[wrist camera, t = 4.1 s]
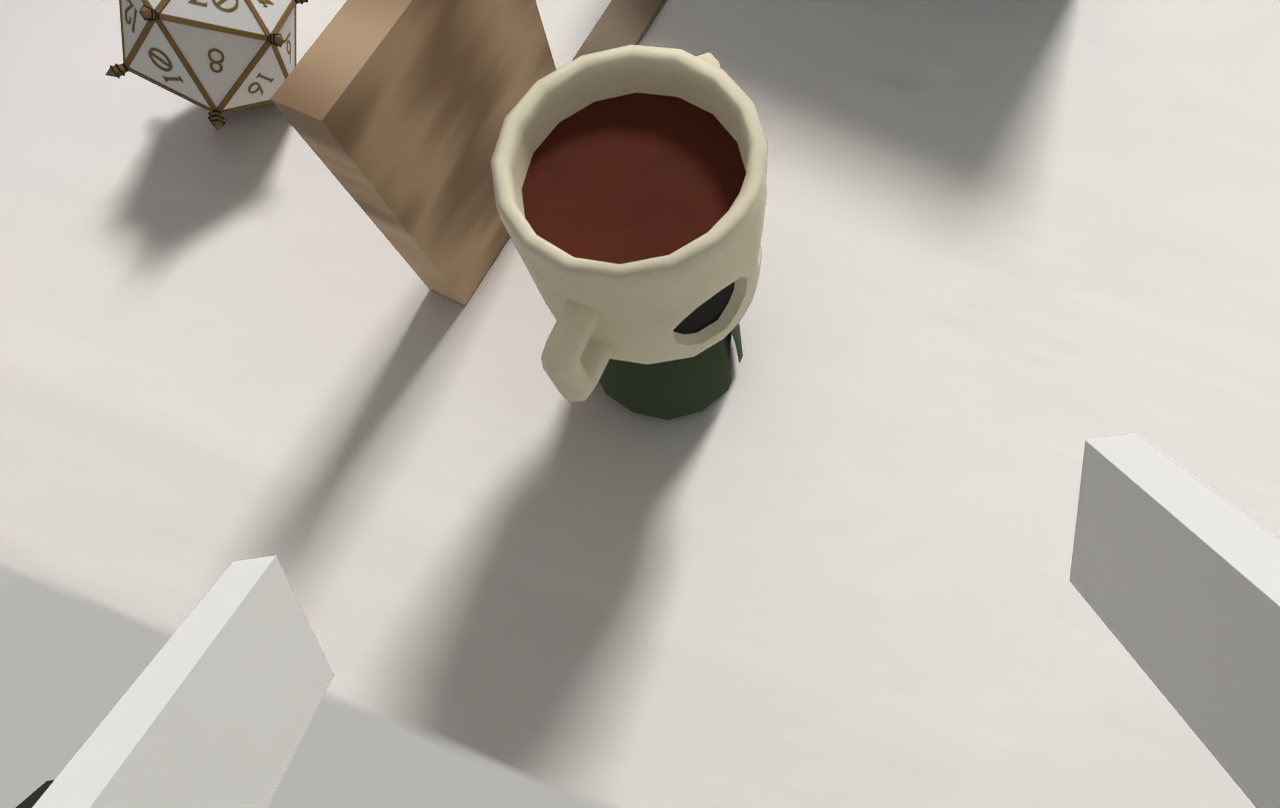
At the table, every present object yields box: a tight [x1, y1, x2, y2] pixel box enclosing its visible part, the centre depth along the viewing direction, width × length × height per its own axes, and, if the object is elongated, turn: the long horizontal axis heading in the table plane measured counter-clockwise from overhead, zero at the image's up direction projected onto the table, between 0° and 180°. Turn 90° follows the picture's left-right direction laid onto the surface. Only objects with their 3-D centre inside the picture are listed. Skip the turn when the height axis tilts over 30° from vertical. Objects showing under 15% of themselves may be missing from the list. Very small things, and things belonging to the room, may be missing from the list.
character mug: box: [491, 45, 768, 420], centre depth 24 cm, size 11×7×13 cm, turn 155°
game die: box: [106, 0, 308, 130], centre depth 34 cm, size 9×8×10 cm
